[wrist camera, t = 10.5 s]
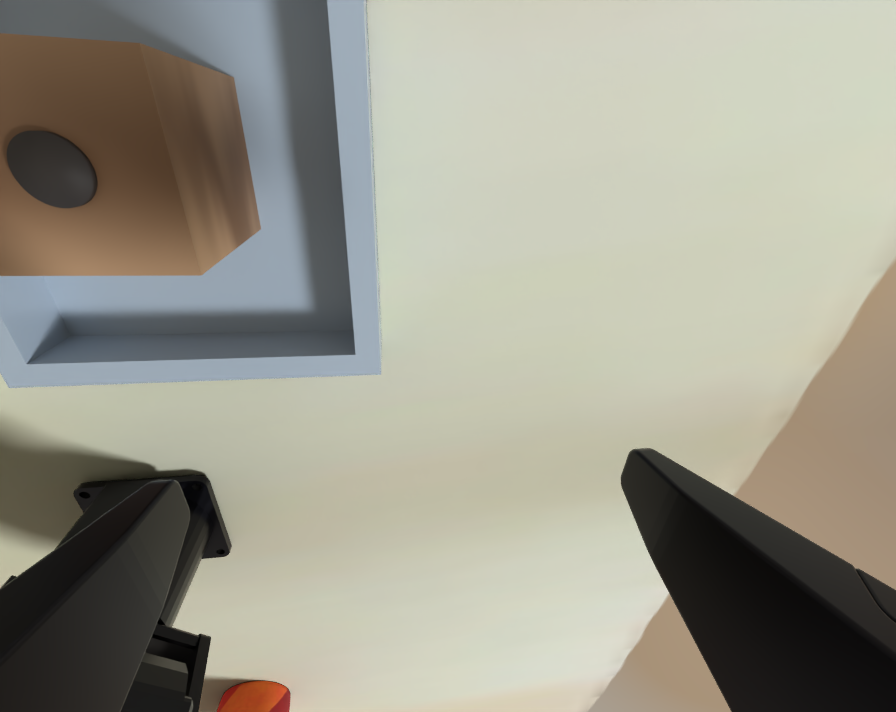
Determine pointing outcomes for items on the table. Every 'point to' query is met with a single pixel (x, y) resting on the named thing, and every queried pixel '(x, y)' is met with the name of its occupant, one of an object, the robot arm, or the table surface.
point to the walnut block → (118, 161)
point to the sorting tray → (278, 202)
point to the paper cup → (256, 698)
